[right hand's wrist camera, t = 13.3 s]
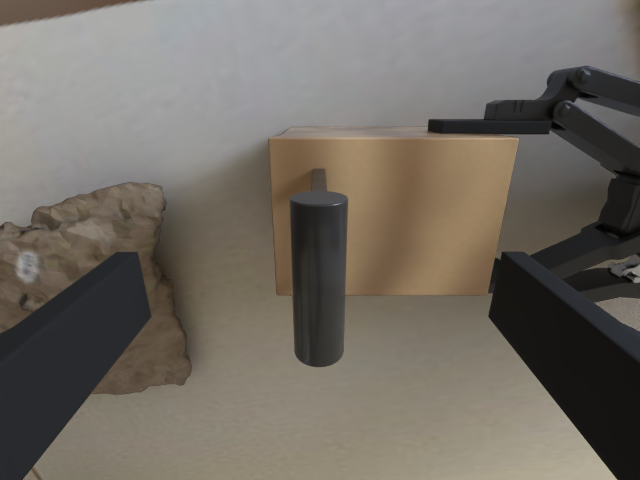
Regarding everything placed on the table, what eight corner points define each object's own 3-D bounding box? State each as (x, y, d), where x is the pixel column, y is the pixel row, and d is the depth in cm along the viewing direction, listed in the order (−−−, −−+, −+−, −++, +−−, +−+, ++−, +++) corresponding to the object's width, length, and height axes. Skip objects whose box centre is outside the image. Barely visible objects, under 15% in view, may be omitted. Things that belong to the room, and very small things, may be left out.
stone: (-49, 176, 25) (-116, 212, 20) (166, 170, 29) (153, 200, 24) (52, 366, 36) (24, 421, 31) (199, 346, 39) (195, 392, 34)
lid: (278, 285, 22) (253, 395, 14) (271, 135, 19) (231, 159, 11) (478, 285, 23) (576, 395, 14) (507, 135, 19) (659, 160, 11)
